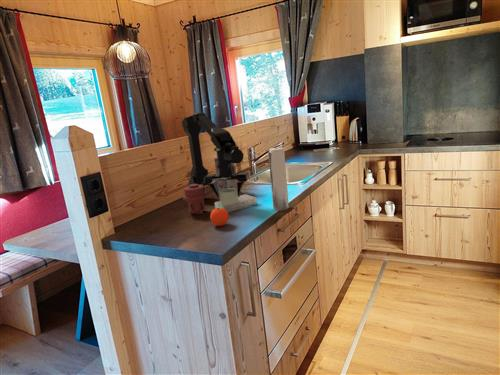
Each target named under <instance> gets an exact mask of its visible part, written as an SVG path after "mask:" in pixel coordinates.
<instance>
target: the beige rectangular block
mask: <svg viewBox="0 0 500 375" xmlns="http://www.w3.org/2000/svg"><path fill="white" fill-rule="evenodd" d="M257 204H258V202H257V197H256V196H252V195H250V194H246V193H245V194H240V197H238V202H236V203H233V204H221V203H220V200H218V201H215V202H214V209H215V208H218V207H223V208H224V207H225V208H224V209H225V210H226V209H227V210H226V211H227V212H228V213H232V212H235V211H238V210H241V209H245V208H249V207H252V206H256V205H257Z"/></svg>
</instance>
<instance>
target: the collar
mask: <svg viewBox="0 0 500 375" xmlns="http://www.w3.org/2000/svg"><path fill="white" fill-rule="evenodd" d="M219 201H220V203H221V204H233V203H236V202H238V190H237V189H236V188H227V189H222V190H220V191H219Z"/></svg>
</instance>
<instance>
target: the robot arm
mask: <svg viewBox="0 0 500 375" xmlns="http://www.w3.org/2000/svg"><path fill="white" fill-rule="evenodd" d="M181 125H182V128H183V132H184V133H185V135H187V138H188V144H189V151H190V158H191V164H192V167H191V171H190V172H189V175H190V178H189V181H188V183H187V187H188V186H189V185H191V184H198V185H203V186H204V192H206V186H210V188H211V189H212V190H213V192H214V194H215V196H216V197H217V198H218V199H220V196H219V190H218V181H217V180H234V179H236V186H237V193H238V197H240V196H241V193H242V188H243V184H245V183H246V182H247V181H248V180H249V179H250V174H249V172H248V171H245V172H242V171H241V172H238V173H237V172H236V171H237V169H236V168H237V167H236V166H235V165H236V164H237V165H238V164H240V163H242V162H243V160H244V153H243V151H242V150H241V149H240V148H239V146H238V145H237V144H236V141H235V140H234V138H233V136H232V134H231V133H230V132H229V130H227V129H225V128H222V127H219V126H217V124H215V123H214V122H213V120H211V119H210V118H209V117H208V116H207V115H206V113H205V112H196V113H193V114H192V115H190V116H186V117H184V118H183V119H182V121H181ZM202 129H203V131H205V132H206V133H207V134H208V135H209V137H210V141H211V143H212V144H213V145H214V146H215V147H214V148H213V152H216V155H217V160H218V168H219V176H216V173H213V174H211V173H210V174H209V170H208V169H207V168H205V166H204V163H203V156H202V149H201V142H200V133H201V131H202ZM232 163H234V164H235V165H234V166H233V164H232ZM234 174H235V175H234ZM222 177H225V178H222ZM230 177H231V178H230ZM207 199H210V197H209V196H207V197H206V198H204V200H207Z"/></svg>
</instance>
